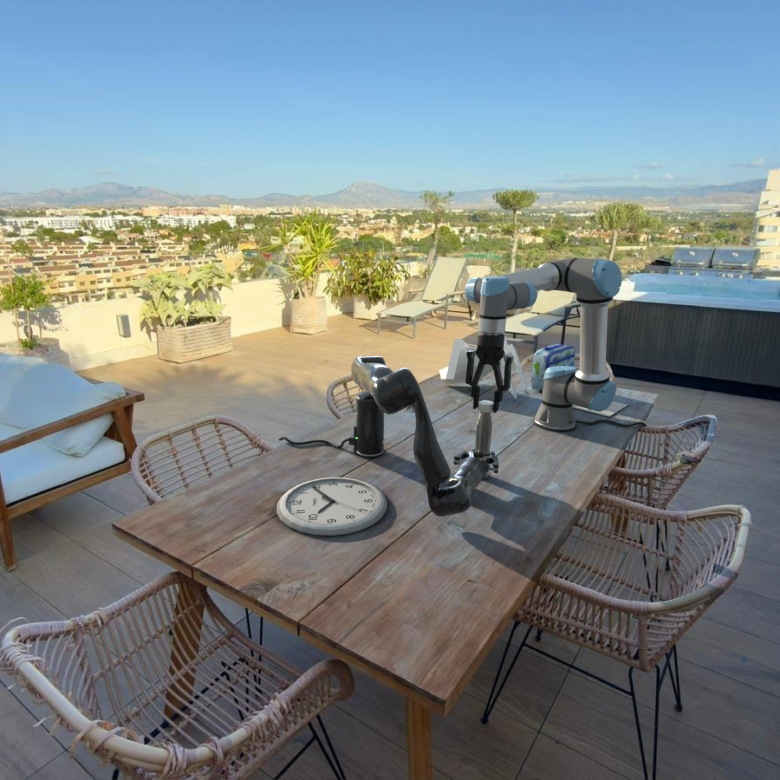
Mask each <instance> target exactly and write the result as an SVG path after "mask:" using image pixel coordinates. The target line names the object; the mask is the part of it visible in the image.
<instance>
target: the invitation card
mask: <svg viewBox="0 0 780 780" xmlns="http://www.w3.org/2000/svg"><path fill="white" fill-rule="evenodd" d="M628 406H629V404H627V403H623V402H618V401H614V400H613V401H612V403H611V404H610V406H609V407H608V408H607V409H605V410H604V411H601V412H598V411H594V410H589V409H587V408H583V407H580V406H577V405H575V406H574V407H573V409H575V410H581V411H584V412H587V413H593V414H596V415H600V416H604V417H608V418H609V417H611V416H613V415H614V414H616V413H617V412H619V411H621V410H623V409H624V408H626V407H628Z"/></svg>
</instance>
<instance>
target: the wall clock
mask: <svg viewBox="0 0 780 780" xmlns="http://www.w3.org/2000/svg"><path fill="white" fill-rule="evenodd" d="M387 509H388V500H387V498H386V496H385V494H384V493H383V492H382V491H381V490H380V489H379V488H377V487H376V486H374V485H372V484H371V483H369V482H365V481H362V480H359V479H355V478H349V477H338V476H337V477H335V476H333V477H332V476H331V477H322V478H317V479H312V480H307V481H305V482H302V483H299V484H297V485H295V486H293V487H292V488H290V489H288V490H287V491H286V492H285V493H284V494H283V495H281V496H280V498H279V499H278V502H277V503H276V515H277V517H278V518H279V520H280V521H281V522H282V523H283V524H285V525H286V526H287V527H288V528H290V529H293V530H295V531H297V532H299V533H303V534H308V535H312V536H327V537H328V536H329V537H331V536H332V537H333V536H342V535H350V534H352V533H356V532H361V531H363V530H366V529H368V528H369V527H372V526H373V525H375V524H376V523H378V522H379V521H380V520H381V519H382V518H383V517H384V516H385V514H386V512H387Z"/></svg>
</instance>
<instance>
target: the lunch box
mask: <svg viewBox="0 0 780 780" xmlns="http://www.w3.org/2000/svg"><path fill="white" fill-rule="evenodd" d="M575 357H576V349H575V346H572V345H565V344H560V343H555V344H552V345H547V346H545V347H542V348H539V349H537V350H536V351H535V353H534V355H533V358H532V363H531V364H532V365H531V376H530V377H531V378H530V387H531V389H532V390H536V391H539V392H540V391H541V392H542V391H543V382H544V379H543V378H544V374H545V371H546V369H547V368H550V367H554V366H572V367H575V360H576V358H575Z"/></svg>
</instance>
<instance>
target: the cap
mask: <svg viewBox="0 0 780 780" xmlns="http://www.w3.org/2000/svg"><path fill="white" fill-rule="evenodd" d="M493 406H494V401H492V400H486V399H483V400H479V404H478V408H477V410H478V411H479V412H480V411H481V412H491V413H493Z"/></svg>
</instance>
